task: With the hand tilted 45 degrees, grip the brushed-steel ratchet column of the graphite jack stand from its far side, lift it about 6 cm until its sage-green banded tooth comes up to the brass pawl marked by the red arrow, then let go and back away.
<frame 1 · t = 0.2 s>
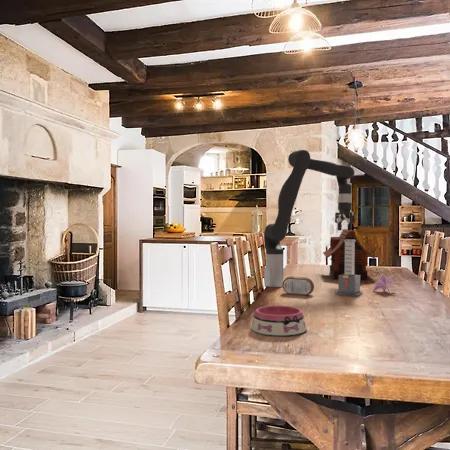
hand: (344, 230, 260), 29 cm above the table, tool pointing down, fingers open, 8 cm apart
tin: (297, 295, 219), on the table
stand housing: (349, 293, 222), on the table
lily: (384, 293, 227), on the table
column: (349, 265, 221), point 14 cm above the table, slide at 0.0 cm
house: (347, 277, 282), on the table
dog bowl: (278, 330, 153), on the table
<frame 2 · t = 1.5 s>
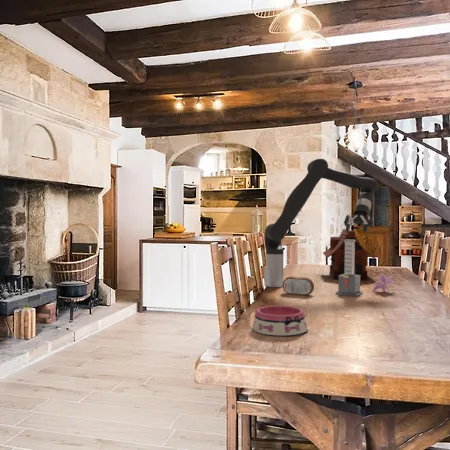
hand: (355, 231, 233), 30 cm above the table, tool tilted 45°, fingers open, 8 cm apart
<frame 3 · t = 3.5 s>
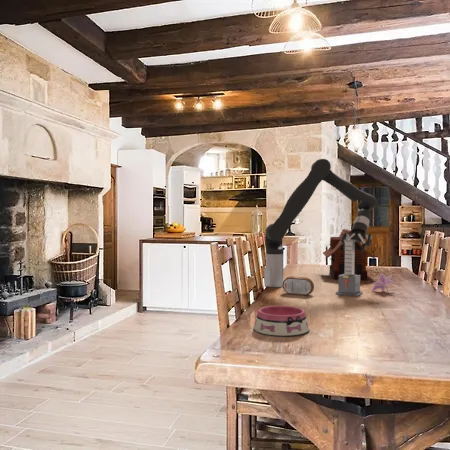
hand: (353, 250, 226), 21 cm above the table, tool tilted 45°, fingers open, 8 cm apart
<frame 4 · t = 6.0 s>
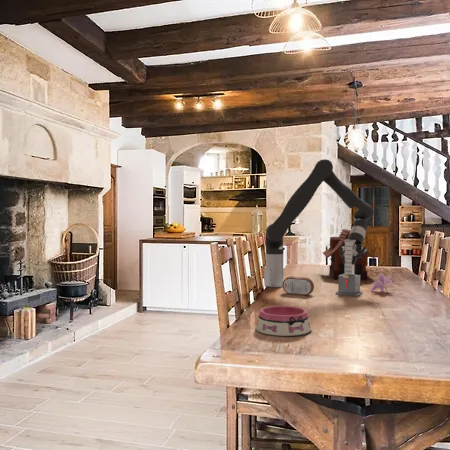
hand: (348, 263, 220), 15 cm above the table, tool tilted 45°, fingers closed on column, 3 cm apart
column: (349, 265, 221), point 14 cm above the table, slide at 0.0 cm, touching gripper
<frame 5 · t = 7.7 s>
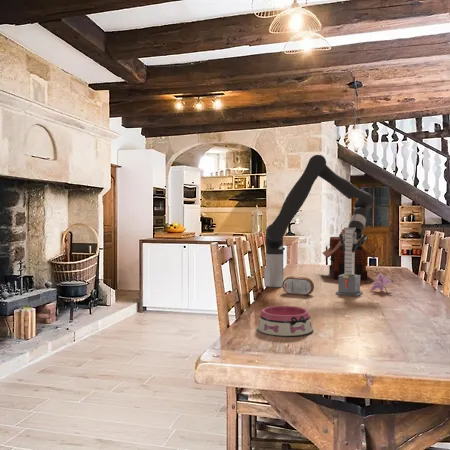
hand: (348, 251, 219), 21 cm above the table, tool tilted 45°, fingers closed on column, 3 cm apart
column: (349, 253, 221), point 20 cm above the table, slide at 5.8 cm, touching gripper
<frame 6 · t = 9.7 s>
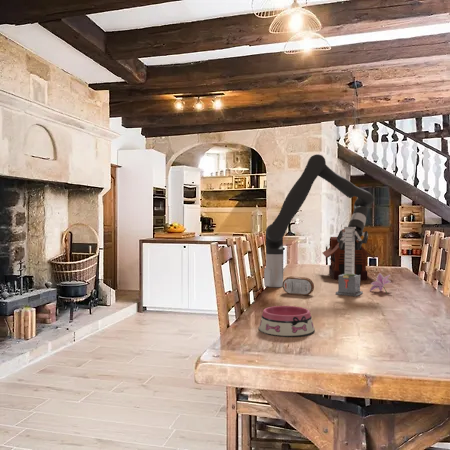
hand: (349, 248, 220), 22 cm above the table, tool tilted 45°, fingers open, 8 cm apart
column: (349, 252, 221), point 20 cm above the table, slide at 6.2 cm
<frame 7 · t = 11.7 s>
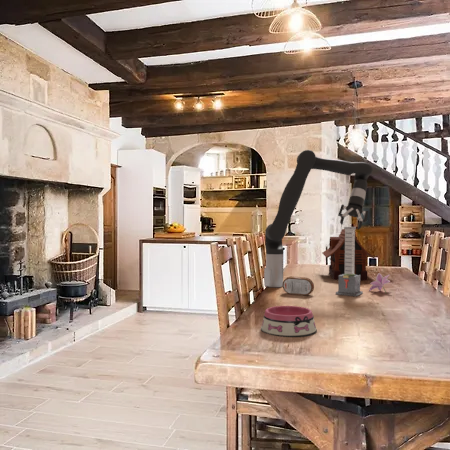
hand: (350, 226, 234), 32 cm above the table, tool tilted 30°, fingers open, 8 cm apart
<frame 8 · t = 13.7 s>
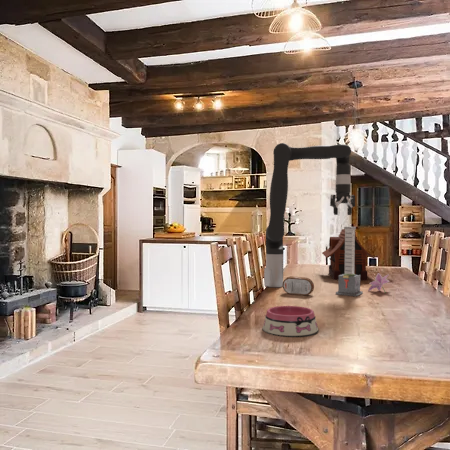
hand: (342, 214, 239), 38 cm above the table, tool pointing down, fingers open, 8 cm apart
at the end: column slide at 6.2 cm; the gripper is holding nothing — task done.
